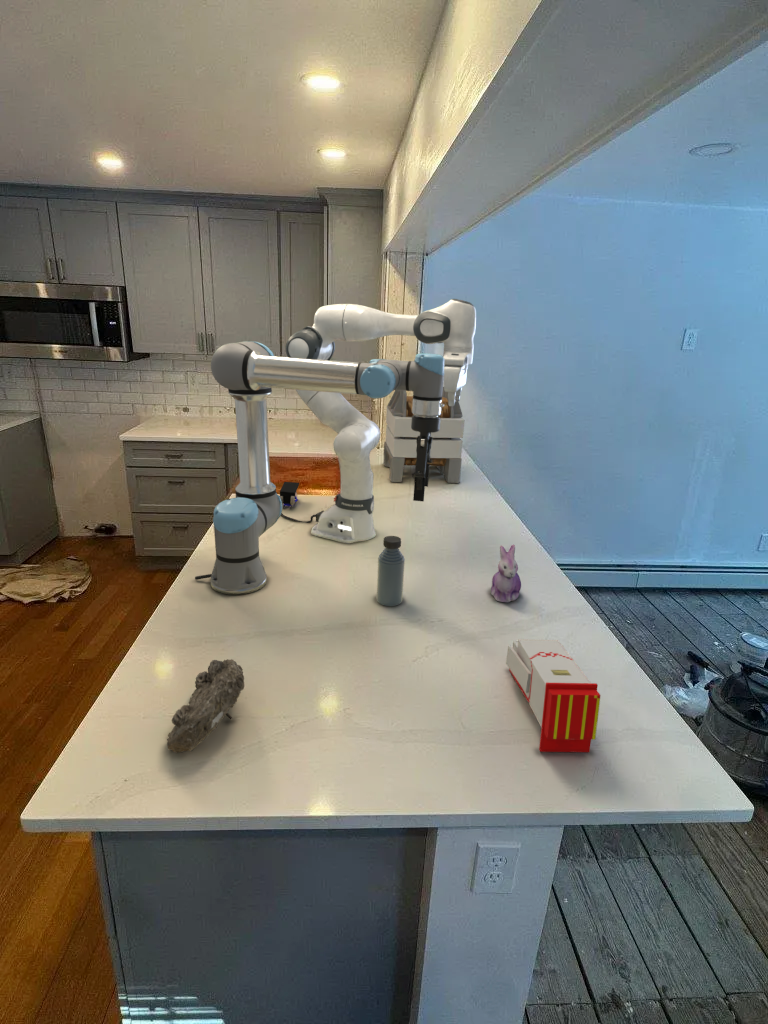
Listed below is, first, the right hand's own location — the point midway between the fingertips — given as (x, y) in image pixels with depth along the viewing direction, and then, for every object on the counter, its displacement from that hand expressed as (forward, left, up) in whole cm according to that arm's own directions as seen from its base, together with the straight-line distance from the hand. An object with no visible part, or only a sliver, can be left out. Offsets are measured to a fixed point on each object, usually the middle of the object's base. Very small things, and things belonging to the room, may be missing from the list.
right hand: (454, 403), depth 174 cm
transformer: (-27, +86, -48) cm, 102 cm away
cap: (-7, -42, -30) cm, 52 cm away
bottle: (-7, -42, -48) cm, 64 cm away
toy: (+34, -73, -48) cm, 94 cm away
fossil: (-26, -98, -48) cm, 112 cm away
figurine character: (-65, +19, -48) cm, 83 cm away
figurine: (+23, -28, -48) cm, 60 cm away
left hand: (-2, -30, -20) cm, 36 cm away
